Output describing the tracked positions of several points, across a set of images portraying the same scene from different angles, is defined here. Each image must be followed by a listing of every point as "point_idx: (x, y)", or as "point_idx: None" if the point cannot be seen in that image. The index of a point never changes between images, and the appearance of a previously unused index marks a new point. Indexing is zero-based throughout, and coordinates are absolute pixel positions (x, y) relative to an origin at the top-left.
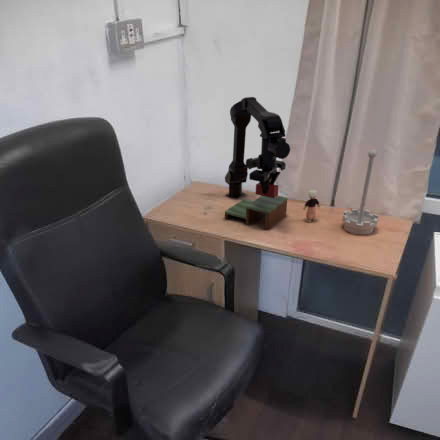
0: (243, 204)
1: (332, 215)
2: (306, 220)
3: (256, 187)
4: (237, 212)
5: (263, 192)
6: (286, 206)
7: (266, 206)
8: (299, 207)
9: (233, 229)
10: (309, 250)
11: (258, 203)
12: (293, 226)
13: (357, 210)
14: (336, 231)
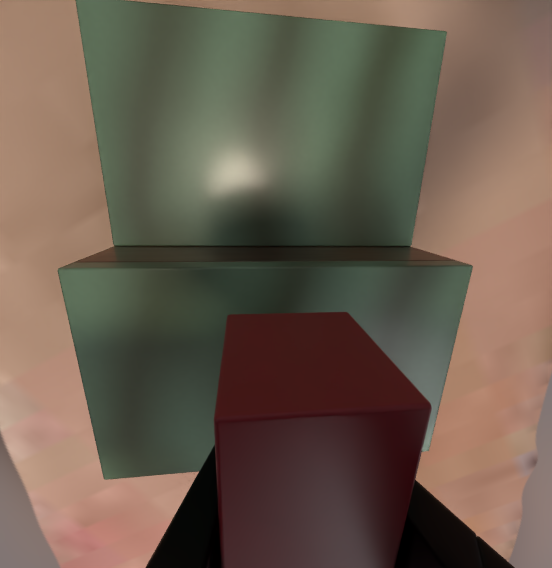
0: (317, 97)
1: (446, 496)
2: None
3: (221, 385)
4: (134, 140)
5: (208, 466)
6: None
7: (174, 424)
8: (490, 367)
9: (20, 202)
10: (103, 563)
11: (192, 340)
12: None
13: None
14: None
